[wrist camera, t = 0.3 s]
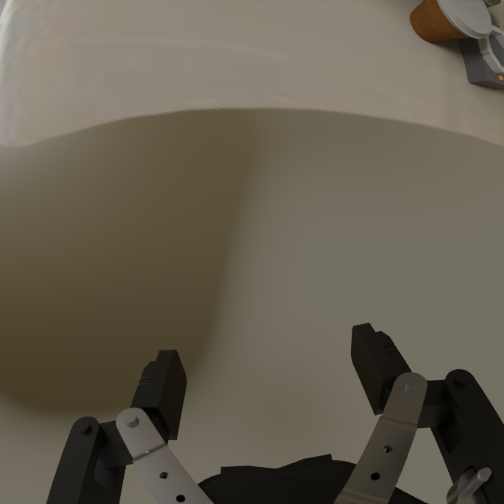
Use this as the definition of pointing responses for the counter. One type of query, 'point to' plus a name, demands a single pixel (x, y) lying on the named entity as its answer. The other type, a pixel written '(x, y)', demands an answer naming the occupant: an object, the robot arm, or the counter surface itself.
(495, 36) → the grey octagonal socket block
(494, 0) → the thermos
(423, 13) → the disposable coffee cup
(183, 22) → the counter surface
